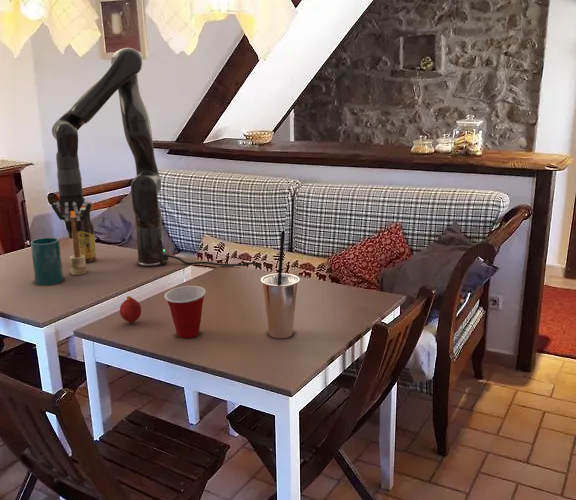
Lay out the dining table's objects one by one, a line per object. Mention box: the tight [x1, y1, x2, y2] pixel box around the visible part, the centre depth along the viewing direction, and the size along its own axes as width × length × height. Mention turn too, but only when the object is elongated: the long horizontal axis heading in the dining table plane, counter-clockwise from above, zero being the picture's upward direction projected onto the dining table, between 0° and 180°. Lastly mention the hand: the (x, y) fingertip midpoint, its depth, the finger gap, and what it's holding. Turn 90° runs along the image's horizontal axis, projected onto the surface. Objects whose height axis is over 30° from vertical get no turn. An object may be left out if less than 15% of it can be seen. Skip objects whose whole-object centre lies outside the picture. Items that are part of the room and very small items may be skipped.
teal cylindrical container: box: [30, 237, 64, 286], centre depth 213 cm, size 9×9×14 cm
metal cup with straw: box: [260, 230, 301, 339], centre depth 166 cm, size 11×11×30 cm
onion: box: [119, 295, 142, 324], centre depth 178 cm, size 6×6×8 cm
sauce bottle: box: [78, 207, 97, 263], centre depth 235 cm, size 7×6×20 cm
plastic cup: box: [163, 285, 206, 339], centre depth 169 cm, size 11×11×12 cm
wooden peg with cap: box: [69, 216, 87, 276], centre depth 221 cm, size 5×5×20 cm
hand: (74, 231), depth 219 cm, fingers closed
